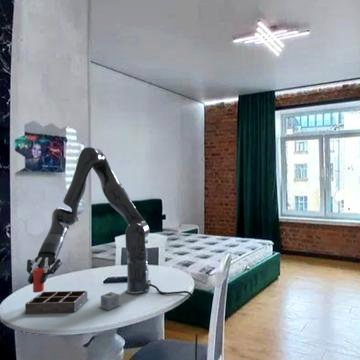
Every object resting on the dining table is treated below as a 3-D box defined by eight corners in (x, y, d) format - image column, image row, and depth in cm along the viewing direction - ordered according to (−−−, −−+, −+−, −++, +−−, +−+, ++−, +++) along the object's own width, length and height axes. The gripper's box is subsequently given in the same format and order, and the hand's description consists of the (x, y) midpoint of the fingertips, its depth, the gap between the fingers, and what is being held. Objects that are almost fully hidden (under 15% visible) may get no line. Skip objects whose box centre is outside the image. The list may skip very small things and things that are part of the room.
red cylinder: (45, 289, 129) (45, 267, 129) (40, 292, 125) (40, 270, 125) (36, 289, 129) (36, 267, 129) (31, 292, 125) (30, 270, 125)
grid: (87, 299, 138) (87, 290, 138) (74, 312, 125) (74, 302, 125) (43, 300, 136) (43, 291, 136) (25, 313, 124) (25, 303, 124)
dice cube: (111, 303, 134) (111, 291, 134) (118, 305, 131) (118, 294, 131) (100, 307, 130) (100, 295, 130) (108, 310, 127) (108, 298, 127)
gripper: (31, 241, 134) (13, 279, 122) (65, 241, 135) (50, 278, 123) (38, 250, 139) (21, 287, 127) (71, 250, 140) (57, 286, 128)
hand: (35, 282), depth 125 cm, fingers closed on red cylinder, 3 cm apart
